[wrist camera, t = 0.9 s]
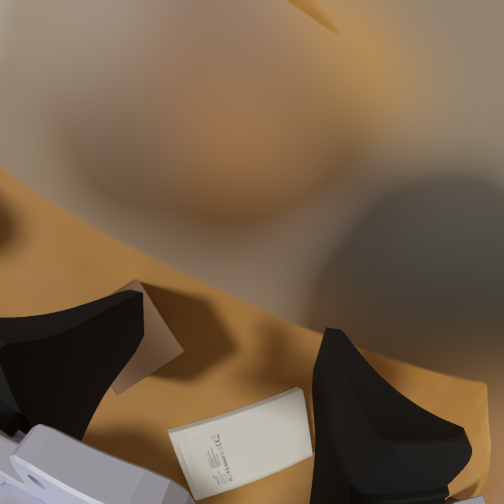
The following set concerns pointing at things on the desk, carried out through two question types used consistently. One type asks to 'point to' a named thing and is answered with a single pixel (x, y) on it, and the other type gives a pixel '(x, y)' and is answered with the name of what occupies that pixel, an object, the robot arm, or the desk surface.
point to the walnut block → (147, 345)
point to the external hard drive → (243, 444)
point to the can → (451, 500)
